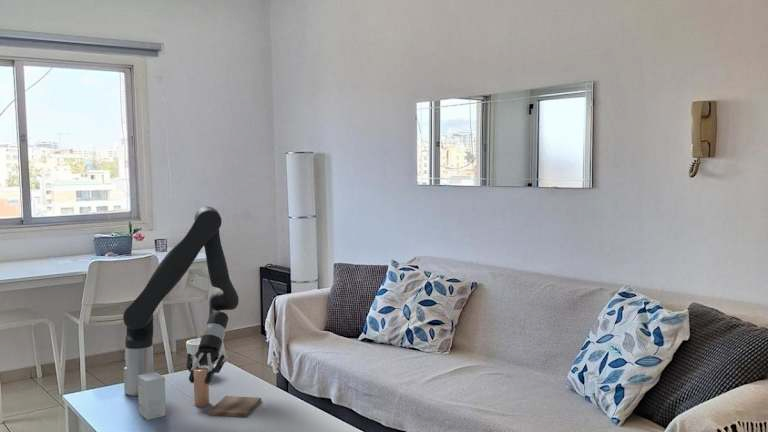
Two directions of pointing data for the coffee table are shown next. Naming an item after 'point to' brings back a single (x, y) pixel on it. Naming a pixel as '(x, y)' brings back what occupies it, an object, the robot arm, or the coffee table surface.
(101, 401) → the coffee table surface
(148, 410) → the small box
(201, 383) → the canister
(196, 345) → the foam cup
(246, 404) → the board
